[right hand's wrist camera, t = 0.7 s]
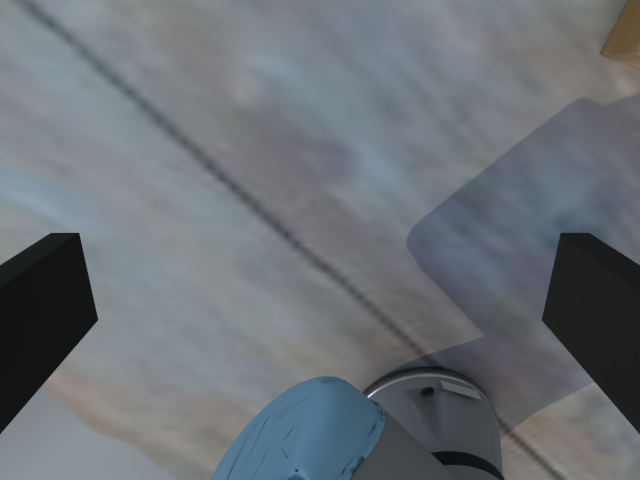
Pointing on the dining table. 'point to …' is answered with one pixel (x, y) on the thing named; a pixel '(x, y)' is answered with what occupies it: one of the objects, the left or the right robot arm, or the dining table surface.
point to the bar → (625, 36)
